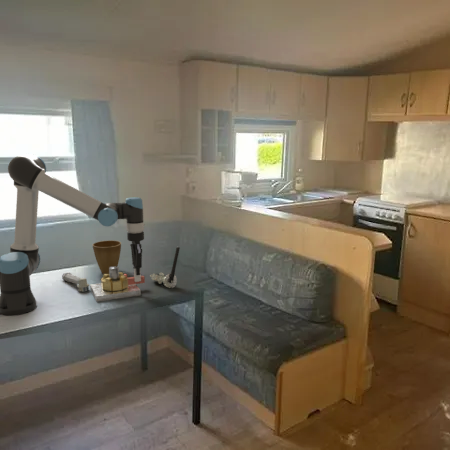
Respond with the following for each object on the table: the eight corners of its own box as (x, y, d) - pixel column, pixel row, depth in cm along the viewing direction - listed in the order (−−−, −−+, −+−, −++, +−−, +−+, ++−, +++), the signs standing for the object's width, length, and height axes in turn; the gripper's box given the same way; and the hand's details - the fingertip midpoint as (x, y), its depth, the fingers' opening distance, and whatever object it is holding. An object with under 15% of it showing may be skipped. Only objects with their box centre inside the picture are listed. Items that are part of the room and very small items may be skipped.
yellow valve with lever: (104, 292, 208) (103, 280, 207) (100, 284, 219) (99, 273, 218) (147, 286, 216) (146, 275, 215) (141, 279, 227) (140, 268, 226)
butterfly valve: (146, 281, 232) (162, 287, 218) (154, 242, 233) (171, 245, 219) (160, 283, 237) (178, 289, 223) (169, 245, 238) (186, 248, 224)
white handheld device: (70, 271, 237) (90, 276, 218) (71, 284, 238) (91, 290, 218) (60, 273, 234) (79, 278, 214) (61, 286, 234) (80, 292, 215)
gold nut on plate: (96, 301, 204) (94, 275, 202) (90, 289, 220) (88, 265, 218) (140, 295, 212) (139, 270, 210) (131, 284, 228) (130, 260, 226)
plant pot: (98, 268, 255) (96, 240, 252) (125, 268, 255) (123, 240, 252) (90, 276, 241) (88, 246, 238) (118, 276, 241) (117, 246, 238)
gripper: (147, 233, 205) (149, 284, 210) (140, 228, 217) (142, 276, 222) (130, 235, 202) (132, 286, 207) (124, 229, 214) (126, 278, 219)
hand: (137, 281), depth 214 cm, fingers closed
